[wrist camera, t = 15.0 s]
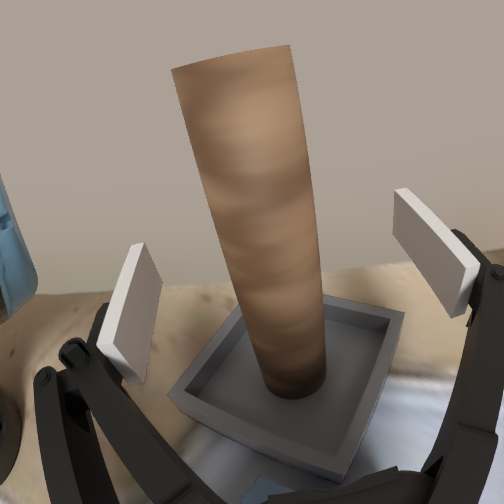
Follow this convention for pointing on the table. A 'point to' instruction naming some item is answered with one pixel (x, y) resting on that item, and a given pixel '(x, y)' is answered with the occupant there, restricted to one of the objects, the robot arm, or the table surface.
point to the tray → (299, 410)
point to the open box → (263, 491)
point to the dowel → (261, 205)
